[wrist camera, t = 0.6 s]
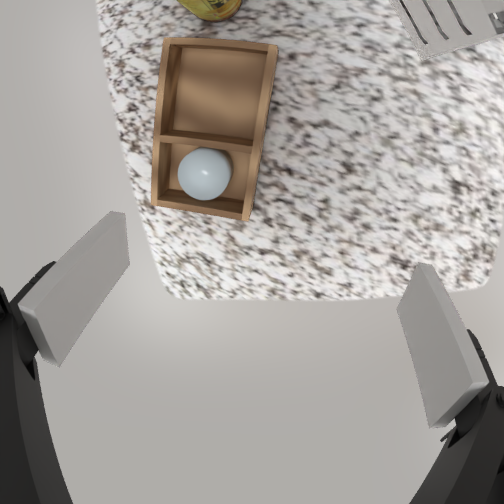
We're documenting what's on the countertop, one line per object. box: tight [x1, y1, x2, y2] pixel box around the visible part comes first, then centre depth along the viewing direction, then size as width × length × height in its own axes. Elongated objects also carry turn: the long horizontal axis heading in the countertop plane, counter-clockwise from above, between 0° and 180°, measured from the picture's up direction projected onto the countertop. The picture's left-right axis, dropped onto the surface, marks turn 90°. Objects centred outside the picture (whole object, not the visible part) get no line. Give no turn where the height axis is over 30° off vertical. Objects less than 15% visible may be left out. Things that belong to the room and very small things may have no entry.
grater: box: [389, 0, 504, 61], centre depth 16 cm, size 10×10×20 cm
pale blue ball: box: [178, 147, 234, 200], centre depth 36 cm, size 6×6×4 cm
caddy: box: [151, 37, 279, 221], centre depth 34 cm, size 20×12×5 cm, turn 172°
